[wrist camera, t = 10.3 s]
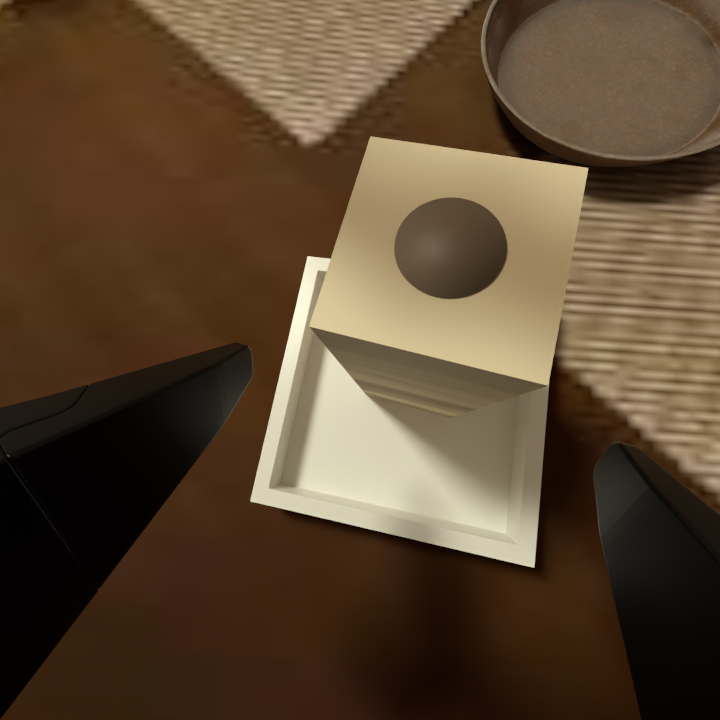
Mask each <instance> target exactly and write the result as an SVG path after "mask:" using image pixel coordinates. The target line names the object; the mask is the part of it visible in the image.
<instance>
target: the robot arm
mask: <svg viewBox="0 0 720 720" xmlns="http://www.w3.org/2000/svg"><path fill="white" fill-rule="evenodd" d="M252 376H253V362H252V351H251V348H250V347H249V346H247V345H244V344H240V343H232V344H228V345H225V346H221V347H218V348H214V349H211V350H207V351H204V352H200V353H197V354H193V355H190V356H186V357H183V358H179V359H176V360H172V361H169V362H165V363H162V364H158V365H155V366H151V367H148V368H144V369H141V370H137V371H134V372H130V373H127V374H123V375H120V376H117V377H113V378H110V379H106V380H103V381H99V382H96V383H92V384H90V386H88V385H85V386H81V387H78V388H74V389H71V390H67V391H64V392H60V393H56V394H53V395H49V396H45V397H42V398H38V399H34V400H30V401H26V402H22V403H18V404H14V405H10V406H5V407H1V408H0V719H1V717H2V716H3V715H4V714H5V712H6V711H7V710H8V708H9V707H10V706H11V704H12V703H13V702H14V700H15V699H16V698H17V696H18V695H19V694H20V692H21V691H22V690H23V689H24V687H25V686H26V685H27V683H28V682H29V681H30V679H31V678H32V677H33V675H34V674H35V673H36V671H37V670H38V669H39V668H40V666H41V665H42V664H43V662H44V661H45V660H46V658H47V657H48V656H49V654H50V653H51V652H52V650H53V649H54V648H55V646H56V645H57V644H58V643H59V641H60V640H61V639H62V637H63V636H64V635H65V633H66V632H67V631H68V629H69V628H70V627H71V625H72V624H73V623H74V622H75V620H76V619H77V618H78V616H79V615H80V614H81V612H82V611H83V610H84V608H85V607H86V606H87V604H88V603H89V602H90V600H91V599H92V598H93V597H94V595H95V594H96V593H97V591H98V588H100V587H101V586H102V584H103V583H104V582H105V580H106V579H107V578H108V576H109V575H110V574H111V572H112V571H113V570H114V568H115V567H116V566H117V565H118V563H119V562H120V561H121V559H122V558H123V557H124V555H125V554H126V553H127V551H128V550H129V549H130V547H131V546H132V545H133V544H134V542H135V541H136V540H137V538H138V537H139V536H140V534H141V533H142V532H143V530H144V529H145V528H146V526H147V525H148V524H149V522H150V521H151V520H152V519H153V517H154V516H155V515H156V513H157V512H158V511H159V509H160V508H161V507H162V505H163V504H164V503H165V501H166V500H167V499H168V497H169V496H170V495H171V494H172V492H173V491H174V490H175V488H176V487H177V486H178V484H179V483H180V482H181V480H182V479H183V478H184V476H185V475H186V474H187V472H188V471H189V470H190V469H191V467H192V466H193V465H194V463H195V462H196V461H197V459H198V458H199V457H200V455H201V454H202V453H203V451H204V450H205V449H206V447H207V446H208V445H209V444H210V442H211V441H212V440H213V438H214V437H215V436H216V434H217V433H218V432H219V430H220V429H221V428H222V426H223V425H224V423H225V422H226V420H227V419H228V417H229V416H230V414H231V412H232V411H233V409H234V407H235V406H236V404H237V402H238V401H239V399H240V397H241V396H242V394H243V392H244V391H245V389H246V387H247V386H248V384H249V382H250V381H251V378H252ZM593 479H594V488H595V497H596V506H597V515H598V525H599V532H600V539H601V544H602V549H603V553H604V557H605V562H606V566H607V571H608V575H609V579H610V584H611V588H612V592H613V597H614V601H615V605H616V610H617V614H618V619H619V623H620V627H621V632H622V636H623V640H624V645H625V649H626V653H627V658H628V662H629V667H630V671H631V675H632V680H633V684H634V688H635V693H636V697H637V702H638V706H639V710H640V715H641V719H642V720H720V515H719V514H718V513H717V512H716V511H714V510H713V509H712V508H711V507H709V506H708V505H707V504H706V503H705V502H703V501H702V500H701V499H700V498H699V497H697V496H696V495H695V494H694V493H692V492H691V491H690V490H689V489H688V488H686V487H685V486H684V485H683V484H682V483H680V482H679V481H678V480H677V479H676V478H674V477H673V476H672V475H671V474H669V473H668V472H667V471H666V470H665V469H663V468H662V467H661V466H660V465H659V464H657V463H656V462H655V461H654V460H652V459H651V458H650V457H649V456H648V455H646V454H645V453H644V452H643V451H642V450H640V449H639V448H638V447H636V446H633V445H629V444H625V443H621V442H614V443H612V444H611V445H610V446H609V447H608V449H607V450H606V451H605V453H604V454H603V455H602V457H601V458H600V459H599V461H598V462H597V463H596V465H595V467H594V470H593Z"/></svg>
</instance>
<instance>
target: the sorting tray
mask: <svg viewBox="0 0 720 720" xmlns="http://www.w3.org/2000/svg"><path fill="white" fill-rule="evenodd" d="M330 260H331V259H326V258H317V257H309V256H308V257H307V262H306V266H305V270H304V274H303V279H302V283H301V287H300V291H299V296H298V300H297V304H296V308H295V313H294V317H293V321H292V325H291V330H290V334H289V338H288V342H287V347H286V351H285V355H284V359H283V364H282V368H281V372H280V377H279V381H278V385H277V389H276V394H275V398H274V402H273V406H272V411H271V415H270V419H269V423H268V428H267V432H266V436H265V440H264V445H263V449H262V453H261V457H260V462H259V466H258V470H257V474H256V479H255V483H254V487H253V491H252V496H251V500H250V501H251V502H255V503H260V504H264V505H268V506H273V507H277V508H281V509H285V510H290V511H294V512H298V513H302V514H307V515H311V516H315V517H319V518H324V519H328V520H332V521H336V522H341V523H345V524H349V525H353V526H358V527H362V528H366V529H370V530H375V531H379V532H383V533H388V534H392V535H396V536H400V537H405V538H409V539H413V540H417V541H422V542H426V543H430V544H434V545H439V546H443V547H447V548H451V549H456V550H460V551H464V552H468V553H473V554H477V555H481V556H485V557H490V558H494V559H498V560H503V561H507V562H511V563H515V564H520V565H524V566H528V567H532V568H535V555H536V543H537V530H538V517H539V505H540V492H541V480H542V467H543V455H544V442H545V430H546V417H547V404H548V392H549V384H548V386H546V387H543V388H540V389H537V390H534V391H531V392H528V393H525V394H521V395H518V396H515V397H512V398H509V399H506V400H503V401H500V402H497V403H494V404H491V405H488V406H485V407H482V408H479V409H476V410H473V411H470V412H467V413H464V414H461V415H458V416H455V417H452V418H449V417H446V416H442V415H438V414H435V413H431V412H428V411H424V410H420V409H417V408H413V407H409V406H406V405H402V404H398V403H395V402H391V401H388V400H384V399H380V398H377V397H373V396H369V395H366V394H365V393H364V392H363V390H362V389H361V388H360V387H359V386H358V384H357V383H356V382H355V381H354V380H353V379H352V377H351V376H350V375H349V374H348V373H347V371H346V370H345V369H344V368H343V367H342V365H341V364H340V363H339V362H338V361H337V359H336V358H335V357H334V356H333V355H332V353H331V352H330V351H329V350H328V349H327V347H326V346H325V345H324V344H323V343H322V341H321V340H320V339H319V338H318V337H317V335H316V334H315V333H314V332H313V331H312V330H311V328H310V327H309V325H310V321H311V318H312V315H313V312H314V309H315V306H316V303H317V300H318V297H319V294H320V291H321V288H322V284H323V281H324V278H325V275H326V272H327V269H328V266H329V263H330ZM549 379H550V378H549Z"/></svg>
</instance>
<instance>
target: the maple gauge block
mask: <svg viewBox="0 0 720 720" xmlns="http://www.w3.org/2000/svg"><path fill="white" fill-rule="evenodd" d="M587 173H588V168H585V167H578V166H571V165H564V164H557V163H550V162H543V161H536V160H530V159H523V158H516V157H509V156H502V155H495V154H488V153H481V152H474V151H467V150H460V149H453V148H446V147H439V146H433V145H426V144H419V143H412V142H405V141H398V140H391V139H384V138H377V137H370V140H369V143H368V146H367V149H366V152H365V155H364V158H363V161H362V164H361V167H360V170H359V174H358V177H357V180H356V183H355V186H354V189H353V192H352V195H351V198H350V201H349V204H348V207H347V211H346V214H345V217H344V220H343V223H342V226H341V229H340V232H339V235H338V238H337V241H336V244H335V248H334V251H333V254H332V257H331V260H330V263H329V266H328V269H327V272H326V275H325V278H324V281H323V284H322V288H321V291H320V294H319V297H318V300H317V303H316V306H315V309H314V312H313V315H312V318H311V321H310V325H309V327H310V328H311V330H312V331H313V332H314V333H315V334H316V335H317V337H318V338H319V339H320V340H321V341H322V343H323V344H324V345H325V346H326V347H327V349H328V350H329V351H330V352H331V353H332V355H333V356H334V357H335V358H336V359H337V361H338V362H339V363H340V364H341V365H342V367H343V368H344V369H345V370H346V371H347V373H348V374H349V375H350V376H351V377H352V379H353V380H354V381H355V382H356V383H357V384H358V386H359V387H360V388H361V389H362V390H363V392H364V393H365V394H366V395H369V396H373V397H377V398H380V399H384V400H388V401H391V402H395V403H398V404H402V405H406V406H409V407H413V408H417V409H420V410H424V411H428V412H431V413H435V414H438V415H442V416H446V417H449V418H452V417H455V416H458V415H461V414H464V413H467V412H470V411H473V410H476V409H479V408H482V407H485V406H488V405H491V404H494V403H497V402H500V401H503V400H506V399H509V398H512V397H515V396H518V395H521V394H525V393H528V392H531V391H534V390H537V389H540V388H543V387H546V386H548V384H549V378H550V373H551V368H552V362H553V357H554V351H555V346H556V341H557V335H558V330H559V324H560V319H561V314H562V308H563V303H564V298H565V292H566V287H567V281H568V276H569V271H570V265H571V260H572V254H573V249H574V244H575V238H576V233H577V227H578V222H579V217H580V211H581V206H582V200H583V195H584V190H585V184H586V179H587Z"/></svg>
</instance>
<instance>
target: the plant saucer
mask: <svg viewBox="0 0 720 720" xmlns="http://www.w3.org/2000/svg"><path fill="white" fill-rule="evenodd" d="M481 52H482V60H483V65H484V69H485V72H486V76H487V79H488V82H489V85H490V87H491V90H492V92H493V94H494V96H495V98H496V100H497V102H498V104H499V106H500V108H501V109H502V110H503V112H504V113H505V115H506V116H507V118H508V119H509V120H510V122H511V123H512V124H513V125H514V127H515V128H516V129H517V130H518V131H519V132H520V133H521V134H522V135H523V136H524V137H525V138H527V139H528V140H529V141H531V142H532V143H533V144H535V145H536V146H538V147H540V148H541V149H543V150H544V151H546V152H548V153H550V154H553V155H555V156H557V157H560V158H562V159H565V160H568V161H571V162H575V163H579V164H584V165H590V166H597V167H631V166H641V165H648V164H654V163H660V162H665V161H670V160H674V159H678V158H682V157H686V156H689V155H693V154H696V153H699V152H702V151H705V150H708V149H710V148H713V147H716V146H718V145H720V0H494V1H493V2H492V4H491V6H490V8H489V10H488V13H487V16H486V18H485V22H484V25H483V30H482V38H481Z"/></svg>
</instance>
